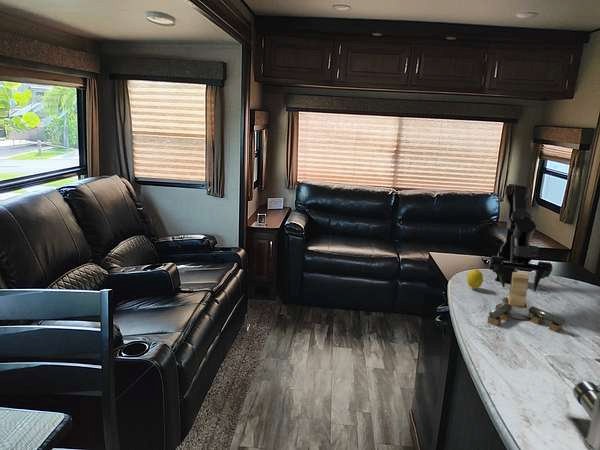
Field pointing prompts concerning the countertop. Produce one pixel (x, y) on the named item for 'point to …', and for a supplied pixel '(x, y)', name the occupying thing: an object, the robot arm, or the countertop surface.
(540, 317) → the shaft
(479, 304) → the countertop surface
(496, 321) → the shaft
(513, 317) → the grey round socket base
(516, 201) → the robot arm
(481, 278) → the lemon
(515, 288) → the block
